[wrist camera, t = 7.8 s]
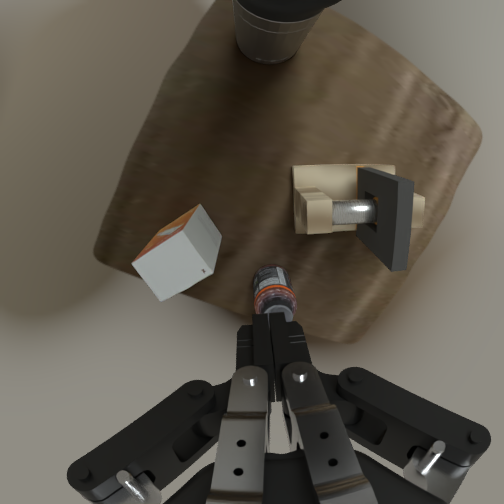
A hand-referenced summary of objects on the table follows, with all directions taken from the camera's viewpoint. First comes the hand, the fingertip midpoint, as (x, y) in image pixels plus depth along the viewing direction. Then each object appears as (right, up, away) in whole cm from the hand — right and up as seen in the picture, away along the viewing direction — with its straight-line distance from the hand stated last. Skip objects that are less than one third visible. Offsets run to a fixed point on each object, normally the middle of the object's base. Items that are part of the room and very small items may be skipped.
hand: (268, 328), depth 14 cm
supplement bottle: (+2, -1, +35) cm, 35 cm away
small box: (-10, +7, +32) cm, 34 cm away
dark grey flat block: (+15, +11, +26) cm, 32 cm away
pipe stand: (+13, +12, +30) cm, 35 cm away
